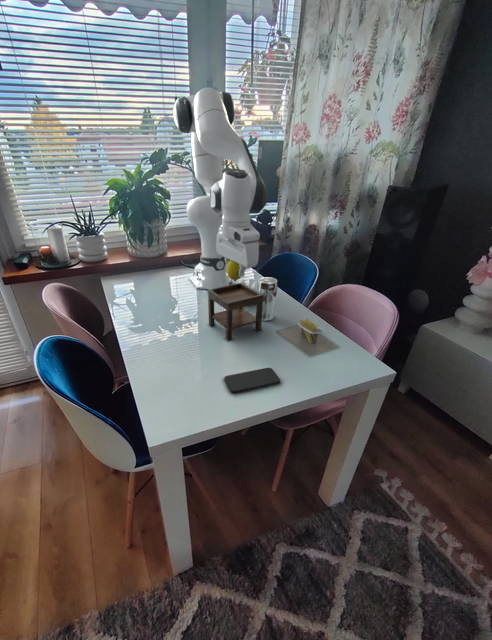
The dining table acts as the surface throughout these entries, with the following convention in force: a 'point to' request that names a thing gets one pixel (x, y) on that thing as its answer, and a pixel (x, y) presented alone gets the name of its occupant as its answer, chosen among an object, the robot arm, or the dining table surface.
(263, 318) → the beer glass
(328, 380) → the dining table surface
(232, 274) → the lemon
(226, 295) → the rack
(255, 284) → the shaker set
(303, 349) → the platform
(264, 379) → the phone
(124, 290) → the dining table surface
